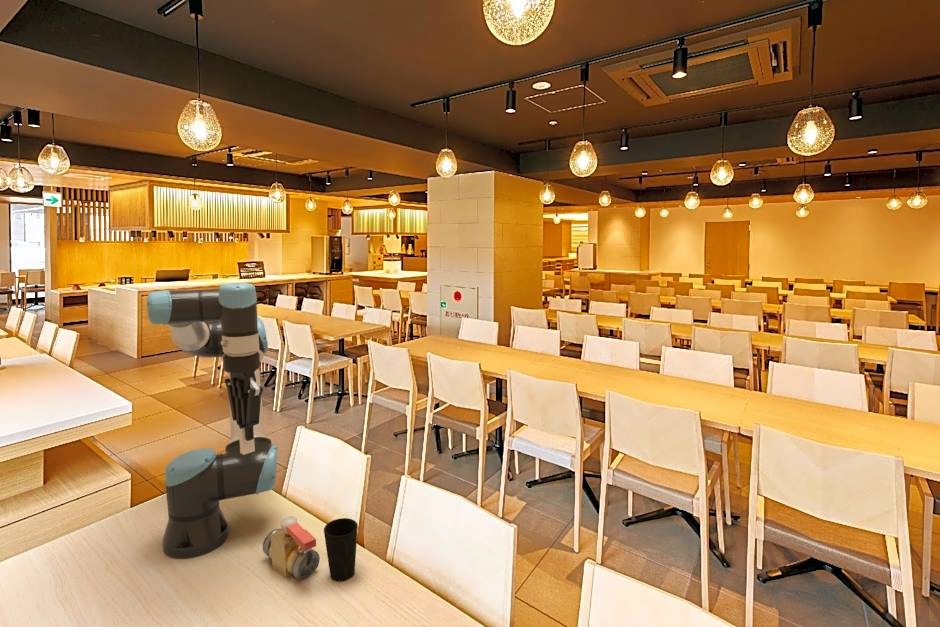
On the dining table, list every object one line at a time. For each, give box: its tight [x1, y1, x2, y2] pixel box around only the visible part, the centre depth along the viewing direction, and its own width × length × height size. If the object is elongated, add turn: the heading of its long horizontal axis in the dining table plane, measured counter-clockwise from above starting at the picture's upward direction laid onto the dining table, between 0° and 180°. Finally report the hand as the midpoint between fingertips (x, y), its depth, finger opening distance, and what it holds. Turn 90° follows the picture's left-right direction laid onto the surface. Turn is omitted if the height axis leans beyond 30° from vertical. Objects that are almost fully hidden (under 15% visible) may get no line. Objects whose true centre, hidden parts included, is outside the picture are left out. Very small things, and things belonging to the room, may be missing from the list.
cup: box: [323, 517, 359, 583], centre depth 120 cm, size 8×8×12 cm
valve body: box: [262, 528, 321, 581], centre depth 123 cm, size 14×7×10 cm, turn 51°
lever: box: [280, 515, 317, 551], centre depth 119 cm, size 13×4×2 cm, turn 43°
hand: (247, 451), depth 118 cm, fingers closed
